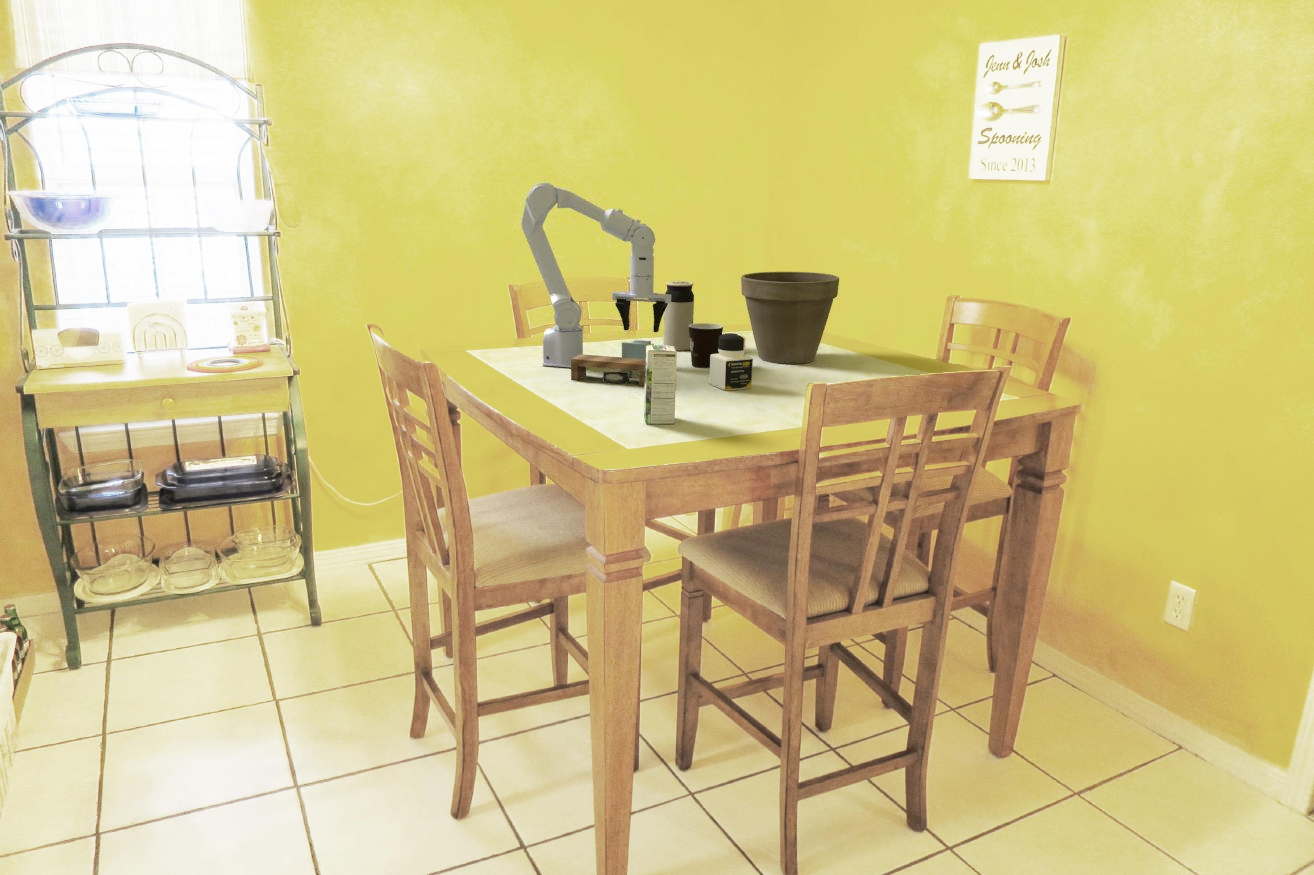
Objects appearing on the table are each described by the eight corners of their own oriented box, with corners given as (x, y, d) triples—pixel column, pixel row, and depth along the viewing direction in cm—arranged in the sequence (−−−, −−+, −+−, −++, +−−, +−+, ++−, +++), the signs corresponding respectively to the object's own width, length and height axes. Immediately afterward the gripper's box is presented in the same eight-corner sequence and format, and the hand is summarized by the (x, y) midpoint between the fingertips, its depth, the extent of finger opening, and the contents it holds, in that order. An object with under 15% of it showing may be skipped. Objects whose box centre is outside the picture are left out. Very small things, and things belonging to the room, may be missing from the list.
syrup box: (643, 416, 181) (644, 344, 177) (672, 416, 181) (674, 344, 177) (645, 424, 175) (646, 350, 171) (675, 424, 176) (677, 350, 172)
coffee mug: (719, 370, 225) (720, 329, 222) (684, 368, 226) (685, 328, 223) (725, 361, 236) (726, 322, 233) (692, 359, 237) (693, 320, 234)
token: (599, 383, 209) (599, 373, 208) (608, 378, 215) (608, 368, 214) (624, 385, 207) (624, 375, 207) (632, 380, 213) (632, 370, 212)
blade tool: (605, 376, 216) (605, 351, 214) (627, 362, 231) (628, 339, 230) (638, 379, 214) (638, 353, 212) (658, 365, 229) (658, 341, 228)
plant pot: (725, 362, 234) (728, 277, 227) (752, 346, 256) (756, 268, 249) (822, 372, 225) (828, 283, 219) (841, 354, 247) (847, 273, 241)
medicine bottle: (725, 391, 203) (727, 338, 200) (708, 384, 209) (710, 332, 206) (751, 388, 206) (754, 335, 203) (735, 382, 212) (737, 330, 209)
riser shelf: (571, 380, 211) (570, 359, 209) (580, 375, 216) (580, 354, 215) (645, 386, 206) (645, 364, 205) (653, 381, 212) (653, 359, 210)
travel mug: (697, 348, 252) (699, 282, 247) (682, 352, 245) (684, 285, 240) (673, 344, 256) (674, 280, 251) (658, 349, 250) (659, 282, 244)
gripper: (674, 275, 224) (673, 330, 228) (618, 272, 228) (618, 326, 232) (667, 278, 217) (666, 334, 221) (609, 275, 221) (609, 330, 225)
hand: (641, 330), depth 226 cm, fingers open, 7 cm apart
